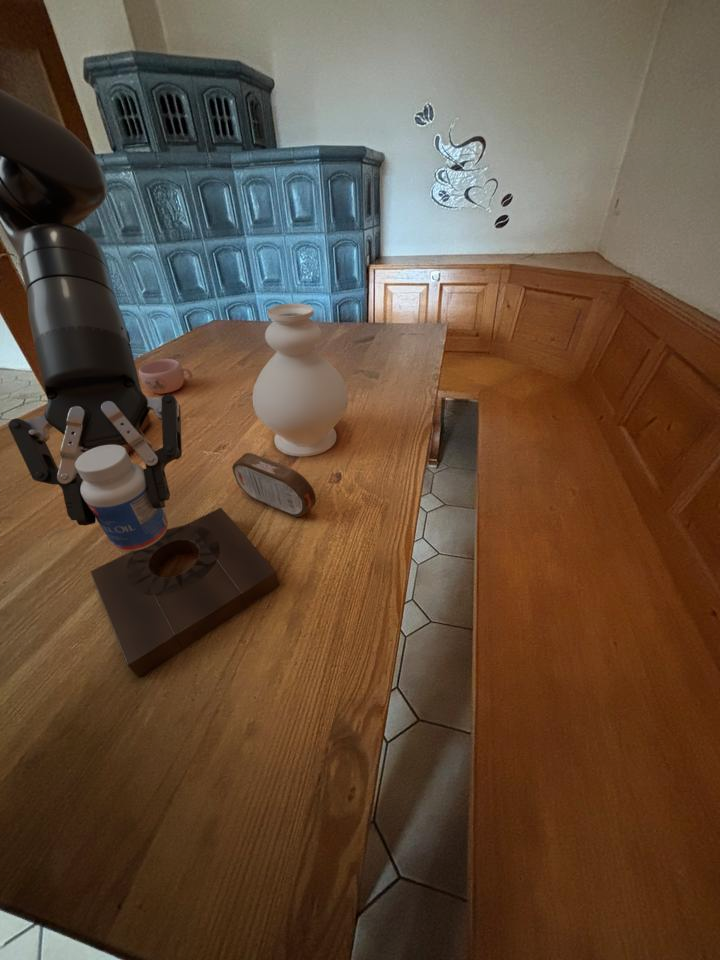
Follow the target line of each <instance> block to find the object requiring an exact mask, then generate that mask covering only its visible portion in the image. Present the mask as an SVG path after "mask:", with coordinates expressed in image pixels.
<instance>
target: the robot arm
mask: <svg viewBox="0 0 720 960" xmlns="http://www.w3.org/2000/svg"><path fill="white" fill-rule="evenodd" d="M108 188H109V187H108V181H107V178H106V175H105V173H104V170H103V168H102V166H101V165H100V163H99V161H98V160H97V158H96V156H95V155H94V154H93V153H92V152H91V150H90V149H89V148H88V147H87V145H86V144H85V143H84V142H82V140H81V139H80V138H78V136H76V135H75V133H73V132H72V131H71V130H69V129H68V128H67V127H65V126H64V125H62V124H61V123H60V122H58V121H57V120H55V119H54V118H52V117H50V116H49V115H47V114H45V113H44V112H42V111H40V110H38V109H37V108H35V107H33V106H31V105H29V104H28V103H26V102H25V101H22V100H20V99H19V98H17V97H15V96H13V95H12V94H10V93H8V92H6V91H5V90H3V89H1V88H0V226H1V227H2V230H3V232H4V234H5V236H6V238H7V239H8V241H9V242H10V244H11V246H12V247H13V249H14V251H15V252H16V254H17V255H18V259H19V265H20V270H21V273H22V278H23V283H24V286H25V292H26V296H27V297H26V298H27V315H28V321H29V326H30V331H31V335H32V340H33V344H34V348H35V353H36V357H37V362H38V366H39V370H40V376H41V380H42V383H43V384H42V385H43V388H44V393H45V395H46V398H47V403H46V407H45V409H44V414H42V415H39V416H36V417H33V418H30V419H27V420H23V419H21V418H18V417H17V418H13V419H11V420H10V421H9V422H8V424H7V427H8V429H9V431H10V433H11V435H12V438H13V439H14V443H15V444H16V446H17V448H18V451H19V452H20V455H21V457H22V459H23V462H24V463H25V465H26V467H27V469H28V472H29V474H30V476H31V478H32V479H33V480H34V481H35V482H40V483H45V484H49V485H57V486H59V487H60V488H61V490H62V495H63V500H64V504H65V508H66V513H67V516H68V517H69V519H70V520H71V521H76V523H77V524H78V525H79V526H89V525H93V524H96V522H97V519H96V518H95V516H94V514H93V513H92V511H91V510H90V508H89V507H88V505H87V503H86V502H85V500H84V498H83V497H82V495H81V491H80V488H81V484H82V482H83V479H82V478H81V477H80V474H79V473H78V471H77V469H76V467H75V462H76V460H77V459H78V457H79V456H81V455H82V454H83V453H85V452H86V451H88V450H90V449H93V448H95V447H99V446H103V445H120V446H122V445H128V444H129V445H130V446H131V447H132V448H133V450H134V451H135V453H137V455H138V457H139V458H140V459H141V460H142V462H143V463H144V465H145V468H143V471H144V475H145V479H146V483H147V488H148V492H149V496H150V500H151V504H152V507H153V508H156V509H159V508H162V509H163V508H166V502H167V501H170V497H171V491H170V489H169V484H168V479H167V476H166V470H165V468H166V466H167V465H168V464H169V463H171V462H173V461H176V460H179V459H180V458H181V457H182V455H183V445H182V414H181V413H182V412H181V411H182V410H181V405H180V403H179V401H178V400H177V398H176V397H175V396H174V395H173V394H171V393H165V394H164V395H163V396H162V397H147V396H146V395H145V394H144V392H143V391H142V388H141V384H140V380H139V379H140V378H139V374H138V371H137V367H136V363H135V358H134V354H133V350H132V345H131V336H130V332H129V330H128V329H127V326H126V321H125V318H124V316H123V312H122V310H121V308H120V306H119V303H118V300H117V296H116V291H115V287H114V283H113V277H112V274H111V269H110V266H109V262H108V259H107V257H106V254H105V252H104V250H103V248H102V246H101V245H100V244H99V242H97V240H95V238H93V237H92V236H91V235H90V234H88V233H87V232H85V231H83V230H82V229H80V228H78V226H79V225H81V224H82V223H83V222H84V221H85V220H86V219H87V218H88V217H90V216H91V215H92V214H93V213H94V212H95V211H96V210H98V209H99V208H100V207H101V206H102V205H103V203H104V202H105V200H106V199H107V195H108V191H109V190H108ZM150 411H153V412H154V415H155V416H156V417H157V419H158V420H160V421H161V427H162V428H161V435H162V436H161V437H162V438H161V439H162V446H161V447H160V448H158V449H155V448H154V446H153V445H152V443H151V442H150V441H149V439H148V438H147V437H146V436H145V435H144V432H141V431H140V428H141V427H142V425H143V423H144V421H145V419H146V417H147V415H148V414H149V413H150ZM51 428H55V429H56V430H57V431H58V432H60V433H61V434H62V435H63V438H62V442H61V446H60V450H59V454H60V457H61V459H60V463H59V467H58V465H57V463H56V461H55V460H54V456H53V455H52V452H51V450H50V449H49V446H48V444H47V442H48V441H49V440H50V437H51V436H50V430H51Z"/></svg>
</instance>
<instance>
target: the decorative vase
mask: <svg viewBox="0 0 720 960" xmlns="http://www.w3.org/2000/svg"><path fill="white" fill-rule="evenodd" d="M314 311H315V310H314V307H313V306H311V305H310V304H306V303H298V302H297V303H295V302H293V303H283V304H278V305H274V306H271V307H269V308H268V309H267V310H266V313H267V317H268V319H269V320H272V322H271V323H270V324H269V325H268V326H267V328H266V330H265V332H264V339H265V342H266V343H267V345H268V346H269V347H270V348H271V349H273V350H274V351H276V352H275V353H274V354H273V355H272V357H270V359H269V360H268V361H267V362H266V364H265V365H264V366H263V368H262V370H261V371H260V373H259V375H258V376H257V378H256V381H255V382H254V386H253V389H252V397H251V398H252V399H251V400H252V406H253V411H254V413H255V415H256V417H257V418H258V420H259V421H260V422H261V423H262V425H264V426H265V427H266V428H267V429H269V430H270V431H272V432H273V433H274V434H275V435H274V438H273V442H274V444H275V447H276V449H277V450H278V451H279V452H281V453H283V454H284V455H288V456H292V457H301V458H302V457H303V458H304V457H311V456H312V457H313V456H316V455H320V454H322V453H325V452H327V451H328V450H329V449H331V448H332V447H333V446H334V445H335V443H336V441H337V433H336V430H335V429H334V427H335V426H336V425H337V424H339V422H340V420H341V419H342V417H343V416H344V415H345V413H346V410H347V408H348V405H349V404H348V402H349V394H348V388H347V385H346V382H345V381H344V379H343V377H342V375H341V374H340V373H339V371H338V370H337V369H336V368H335V367H334V365H333V364H332V363H331V362H330V361H329V360H328V359H326V357H324V356H323V355H322V354H320V353H319V352H318V351H316V349H315V348H316V347H317V345H318V344H319V343H320V341H321V339H322V331H321V329H320V327H319V326H318V324H317V323H316V322H315V321H314V320H312V319H311V317H313V316H314V314H315V313H314Z"/></svg>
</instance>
